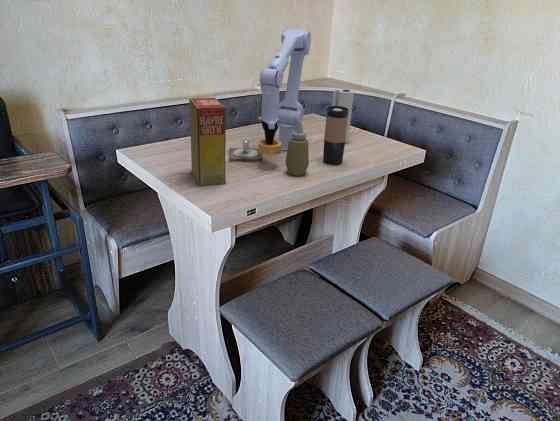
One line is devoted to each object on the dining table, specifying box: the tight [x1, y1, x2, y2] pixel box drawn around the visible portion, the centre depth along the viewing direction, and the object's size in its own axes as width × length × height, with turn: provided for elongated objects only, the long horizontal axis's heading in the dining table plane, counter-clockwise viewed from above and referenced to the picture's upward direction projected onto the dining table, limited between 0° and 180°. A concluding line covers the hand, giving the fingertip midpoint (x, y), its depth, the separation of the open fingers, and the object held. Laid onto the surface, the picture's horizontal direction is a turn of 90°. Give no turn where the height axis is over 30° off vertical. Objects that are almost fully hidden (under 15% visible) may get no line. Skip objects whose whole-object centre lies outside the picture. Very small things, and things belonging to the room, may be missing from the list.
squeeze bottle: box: [285, 121, 310, 177], centre depth 154 cm, size 8×8×18 cm
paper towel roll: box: [331, 89, 355, 145], centre depth 187 cm, size 7×6×21 cm
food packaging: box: [188, 97, 227, 187], centre depth 146 cm, size 13×9×25 cm
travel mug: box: [322, 105, 348, 166], centre depth 165 cm, size 8×8×20 cm
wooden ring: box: [257, 138, 283, 156], centre depth 160 cm, size 8×8×3 cm
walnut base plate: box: [228, 147, 264, 163], centre depth 171 cm, size 12×12×1 cm
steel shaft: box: [241, 139, 250, 154], centre depth 170 cm, size 2×2×5 cm
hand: (269, 142), depth 162 cm, fingers closed on wooden ring
